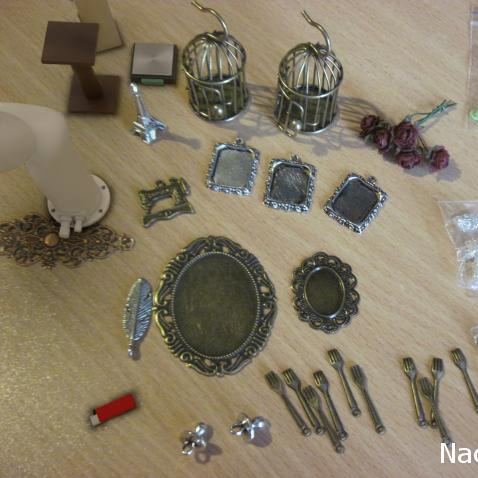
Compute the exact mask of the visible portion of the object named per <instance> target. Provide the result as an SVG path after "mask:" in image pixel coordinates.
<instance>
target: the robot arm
mask: <svg viewBox="0 0 478 478" xmlns="http://www.w3.org/2000/svg"><path fill="white" fill-rule="evenodd" d="M23 165H24V168H25V171H26V174H28V176H29V178H30V179H31V180H32V181H33V182H34V184H35V185H36V186H37V187H38V189H39V190H40V191H41V192H42V194H43V195H44V196H45V197H46V198H47V201H46V202H47V209H48V213H49V214H50V215H51V217H52V218H53V219H54V220H55V221H56V222H57V223H59V224H60V227H59V233H58V237H60V238H63V239H69V238H70V235H71V228H72V229H73V231H74V232H75V233H81V232H82V229H83V228H86V227H89V226H92V225H94V224H96V223H98V222H99V221H100V220H101V219H102V218H103V217H104V216H105V215H106V213H108V210H109V208H110V206H111V205H110V204H111V192H110V190H109V187H108V185H107V184H106V183H105V181H104V180H103V179H101V177H99V176H97V175H95V174H93V173H91V171H90V169H89V168H88V166H87V165H86V163H85V162H84V160H83V158H82V156H81V155H80V153H79V151H78V149H77V147H76V146H75V143H74V141H73V139H72V134H71V131H70V126H69V122H68V120H67V118H66V117H65V115H64V114H63V113H61V112H60V111H59V110H56V109H55V108H52V107H48V106H45V105H44V106H43V105H38V104H32V103H22V102H6V101H0V175H1V174H4V173H6V172H7V173H8V172H10V171H13V170H15V169H18V168H20V167H21V166H23Z"/></svg>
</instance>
